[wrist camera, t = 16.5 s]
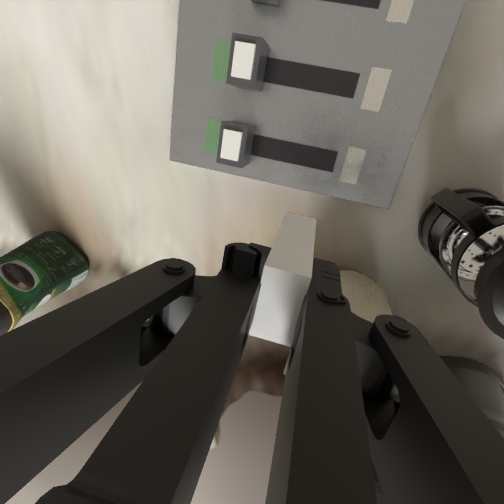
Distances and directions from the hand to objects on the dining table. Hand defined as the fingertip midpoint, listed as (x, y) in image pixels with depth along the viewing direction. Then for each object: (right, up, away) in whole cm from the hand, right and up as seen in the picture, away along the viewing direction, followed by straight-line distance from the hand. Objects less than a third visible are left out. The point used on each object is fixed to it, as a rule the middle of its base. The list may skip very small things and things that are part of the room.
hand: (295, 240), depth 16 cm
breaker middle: (-2, +20, +19) cm, 28 cm away
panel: (+3, +19, +20) cm, 28 cm away
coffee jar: (-33, -2, +37) cm, 50 cm away
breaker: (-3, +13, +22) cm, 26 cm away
